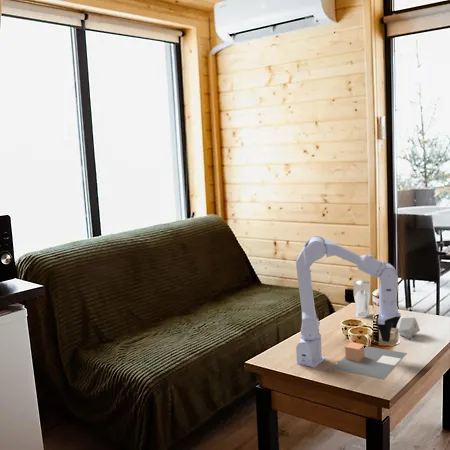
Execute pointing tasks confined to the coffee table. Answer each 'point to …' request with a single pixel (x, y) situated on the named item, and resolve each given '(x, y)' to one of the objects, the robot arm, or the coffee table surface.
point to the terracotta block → (355, 351)
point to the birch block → (393, 337)
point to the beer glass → (362, 298)
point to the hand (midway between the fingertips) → (388, 338)
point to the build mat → (372, 363)
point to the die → (407, 326)
